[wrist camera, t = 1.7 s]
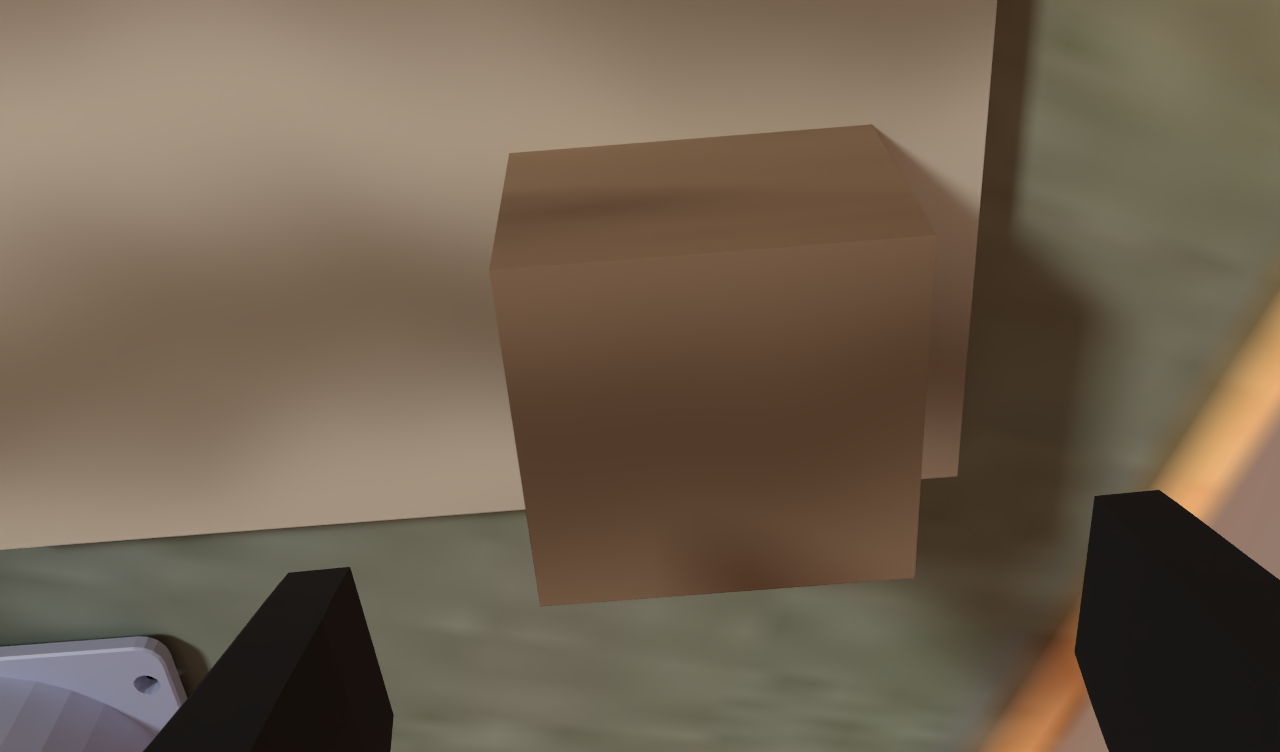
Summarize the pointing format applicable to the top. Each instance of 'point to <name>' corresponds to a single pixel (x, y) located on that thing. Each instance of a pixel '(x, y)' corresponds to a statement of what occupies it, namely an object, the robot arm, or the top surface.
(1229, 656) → the robot arm
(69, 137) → the beige flat square
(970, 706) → the top surface
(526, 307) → the walnut block
